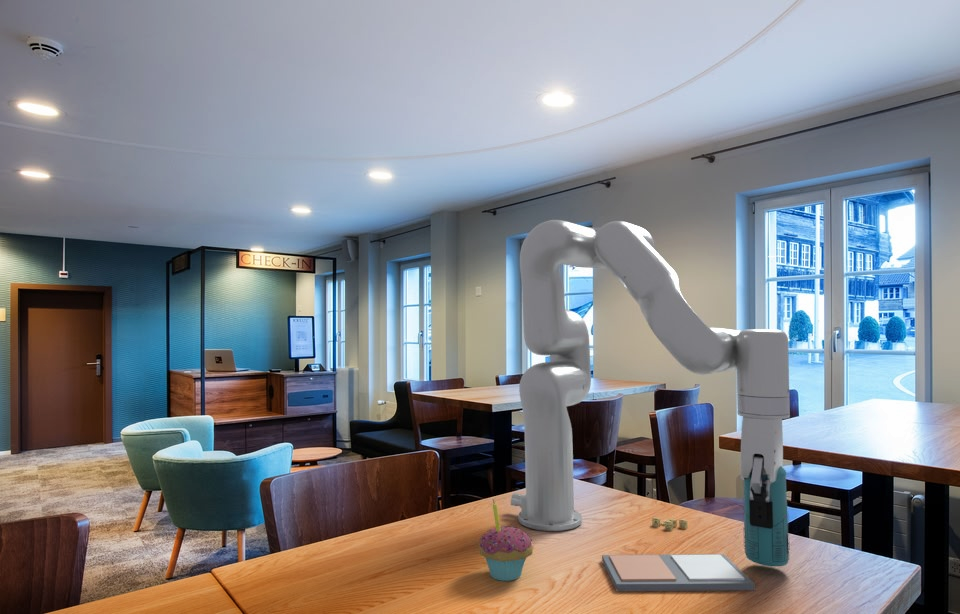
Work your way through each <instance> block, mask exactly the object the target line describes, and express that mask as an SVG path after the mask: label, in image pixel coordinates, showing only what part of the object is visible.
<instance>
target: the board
mask: <svg viewBox="0 0 960 614" xmlns="http://www.w3.org/2000/svg"><path fill="white" fill-rule="evenodd" d="M601 560H602V561H601V562H602V564H603V565H604V568H605V570H606V572H607V574H608V577H609V578H610V580H611V582H612V583H613V586H614V588H615V590H616V592H681V591H682V592H687V591H688V592H689V591H690V592H693V591H698V592H702V591H704V592H705V591H706V592H707V591H709V592H710V591H715V592H717V591H718V592H719V591H755V589H756V587H755V582H754V581H753V580H751V578H750V577H748V576H747V575H746V574H745V573H744V572H743V571H742V570H741V569H740V568H739V567H738V566H737V565H736V564H735V563H734V562H733V561H732V560H731V559H730V558H729V557H728V556H726V555H725V553H707V554H706V553H697V554H696V553H695V554H693V553H692V554H690V553H688V554H687V553H684V554H683V553H682V554H681V553H680V554H675V553H674V554H669V553H668V554H602V555H601Z"/></svg>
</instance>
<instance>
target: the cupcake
mask: <svg viewBox="0 0 960 614" xmlns="http://www.w3.org/2000/svg"><path fill="white" fill-rule="evenodd" d="M492 502H493V503H492V511H493V516H494V524H495V528H492V529H488V530H486V532H484V534H482V536H481V537H480V538H479V541H478V552H479V555H480V556H481V557H484V559H485V562H486V563H487V567H488V569H489V573H490V576H491V578H493V579H494V580H497V581H502V582H505V581H506V582H508V581H509V582H510V581H515V580H517V579H519V578H520V577H521V576H522V572H523V568H524V565H525V563H526V559H527V558H528V557H530V556H532V555H533V552H534V551H533V550H534V546H533V540H532V539H531V537H530V536H529V535H528V534H527V533H526V532H525V531H523V530H522V529H520V528H518V527H516V526H514V527H513V526H509V525H508V526H501V524H500V516H499V511H498V505H497V503H496V502H495V499H494V498H492Z"/></svg>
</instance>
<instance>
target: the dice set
mask: <svg viewBox="0 0 960 614" xmlns="http://www.w3.org/2000/svg"><path fill="white" fill-rule="evenodd" d="M651 523H652V527H654V528H660V527H661V526H664V530H665V531H673V530H674V528H677V526H678V527H679V529H683V530H685V529H686V530H687V529H688V520H687V519H683V518H680V519H679V520H678V525H677V519H675V518H669V519H663V521H661V519H660V518H659V517H652V518H651Z"/></svg>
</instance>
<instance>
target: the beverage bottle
mask: <svg viewBox="0 0 960 614" xmlns="http://www.w3.org/2000/svg"><path fill="white" fill-rule="evenodd" d="M749 475H750V476H749V477H748V478H747V479H746V480H743V479H742V480H743V481H742V484H743V486H742V487H743V498H742V500H743V507H742V508H743V509H742V510H743V513H742V516H743V518H742V519H743V529H742V530H743V540H744V541H743V549H744V553H745V556H746V558H747V559H748V560H749V561H750V562H752V563H755V564H758V565H761V566H766V567H783V566H786V565H788V563H789V560H790V559H791V558H790V542H789V536H790V533H789V529H790V528H789V526H790V524H789V522H790V521H789V517H790V516H789V512H788V504H789V503H788V501H787V499H788V498H787V470H786V469H785V468H784V467H783V466H780V468H779V470H778V473H777V479H776V481H775V482H773V483H771V499H770V501H771V502H773V527H772V529H768V528H763V527H757V526H752V525H751V524H750V509H749V499H750V483H751V472H750V474H749ZM767 475H768V474H767ZM762 480H768V477H766V476H762ZM762 486H763V487H764V488H765V489H766V485H762ZM765 492H766V490H765Z"/></svg>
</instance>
